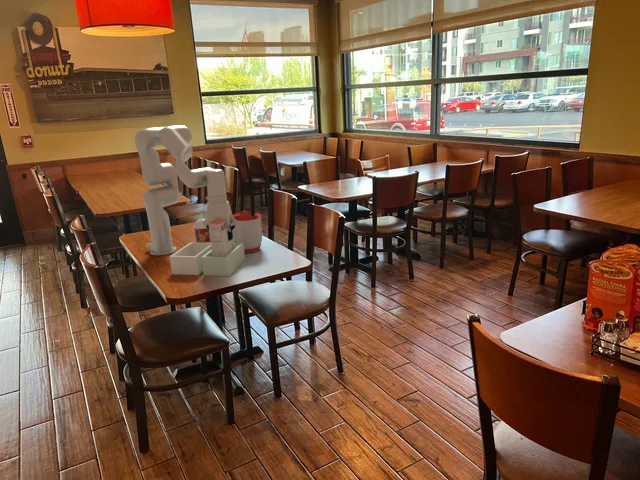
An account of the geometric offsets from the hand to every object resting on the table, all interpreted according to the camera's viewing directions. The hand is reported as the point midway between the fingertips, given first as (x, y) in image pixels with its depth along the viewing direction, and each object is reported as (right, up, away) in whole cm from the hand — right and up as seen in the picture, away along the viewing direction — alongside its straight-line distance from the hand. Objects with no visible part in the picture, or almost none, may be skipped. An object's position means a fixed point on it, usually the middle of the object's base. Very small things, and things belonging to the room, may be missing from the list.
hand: (222, 239), depth 200 cm
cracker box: (+1, -12, +3) cm, 12 cm away
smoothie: (-13, -7, +24) cm, 28 cm away
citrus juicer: (+7, -5, +27) cm, 28 cm away
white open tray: (-13, -12, +7) cm, 19 cm away
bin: (0, -12, +4) cm, 13 cm away
